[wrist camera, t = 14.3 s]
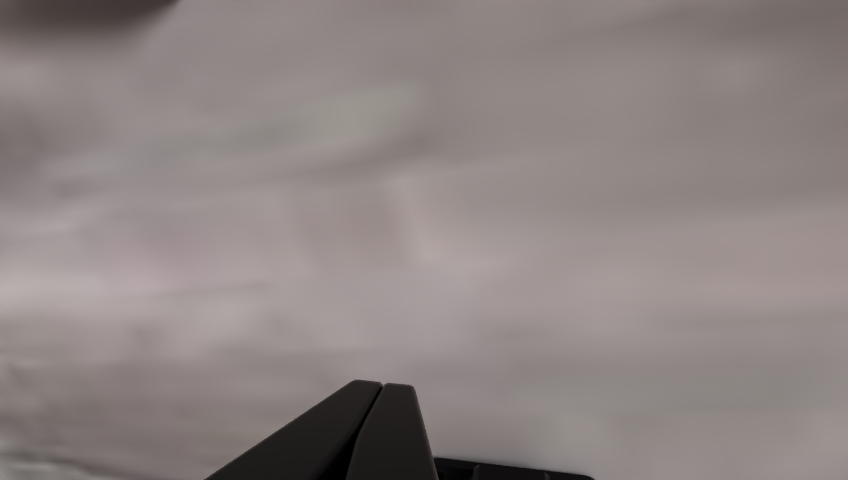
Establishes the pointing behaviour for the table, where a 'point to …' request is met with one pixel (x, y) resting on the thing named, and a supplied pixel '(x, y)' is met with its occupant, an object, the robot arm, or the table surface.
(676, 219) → the table surface
